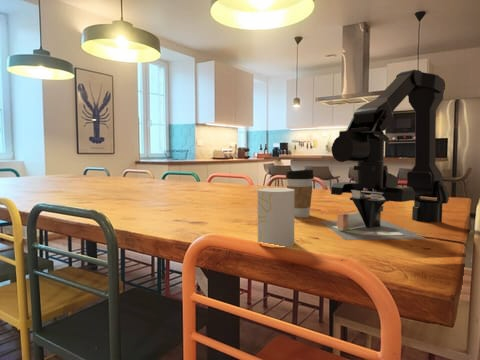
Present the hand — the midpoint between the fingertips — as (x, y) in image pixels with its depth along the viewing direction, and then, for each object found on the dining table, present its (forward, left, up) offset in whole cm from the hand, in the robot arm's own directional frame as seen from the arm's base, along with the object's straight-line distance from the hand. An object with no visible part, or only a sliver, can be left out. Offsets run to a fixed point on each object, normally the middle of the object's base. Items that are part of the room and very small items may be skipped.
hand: (369, 227), depth 81 cm
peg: (0, -6, -1) cm, 6 cm away
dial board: (-1, -5, -2) cm, 5 cm away
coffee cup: (+12, -25, -3) cm, 27 cm away
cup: (+23, +3, -3) cm, 23 cm away
